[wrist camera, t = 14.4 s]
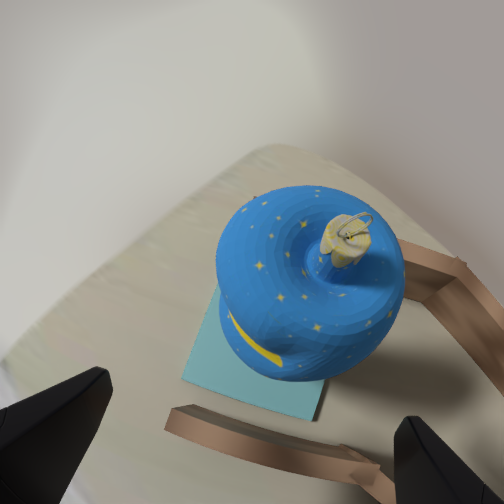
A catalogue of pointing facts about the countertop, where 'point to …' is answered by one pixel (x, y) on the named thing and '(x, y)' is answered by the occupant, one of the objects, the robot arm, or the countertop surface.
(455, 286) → the channel
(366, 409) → the countertop surface
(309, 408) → the pad
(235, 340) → the ornament
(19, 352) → the countertop surface
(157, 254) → the countertop surface
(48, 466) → the robot arm
